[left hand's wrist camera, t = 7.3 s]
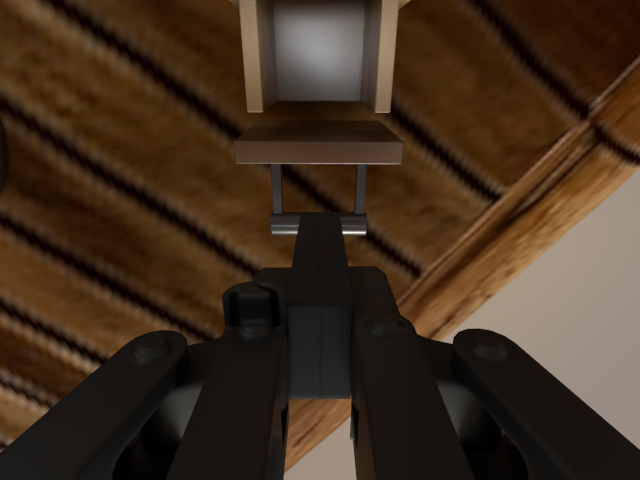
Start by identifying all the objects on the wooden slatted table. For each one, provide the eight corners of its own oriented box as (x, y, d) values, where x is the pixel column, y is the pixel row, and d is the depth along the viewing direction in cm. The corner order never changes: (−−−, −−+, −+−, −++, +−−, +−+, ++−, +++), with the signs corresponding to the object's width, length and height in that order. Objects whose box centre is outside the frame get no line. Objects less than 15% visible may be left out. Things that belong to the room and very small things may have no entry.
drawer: (373, 209, 30) (392, 259, 22) (264, 208, 30) (244, 258, 22) (399, -160, 20) (447, -301, 13) (240, -160, 20) (191, -302, 13)
